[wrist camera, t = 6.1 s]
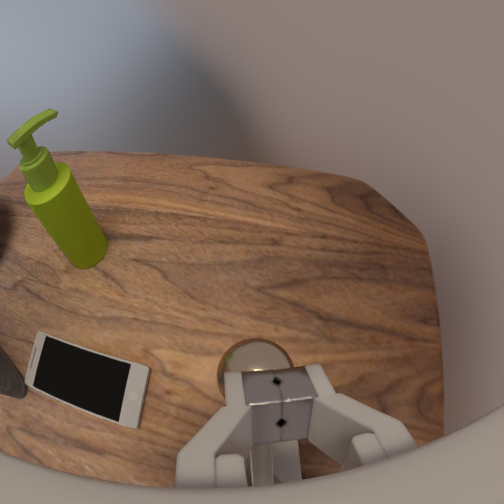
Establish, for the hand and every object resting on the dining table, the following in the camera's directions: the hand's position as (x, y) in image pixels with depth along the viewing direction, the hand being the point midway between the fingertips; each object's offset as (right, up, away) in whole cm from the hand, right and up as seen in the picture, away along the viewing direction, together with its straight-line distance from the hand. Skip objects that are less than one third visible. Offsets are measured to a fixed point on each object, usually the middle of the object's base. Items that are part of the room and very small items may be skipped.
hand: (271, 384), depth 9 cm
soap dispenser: (-22, +5, +28) cm, 36 cm away
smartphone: (-19, -10, +19) cm, 29 cm away
